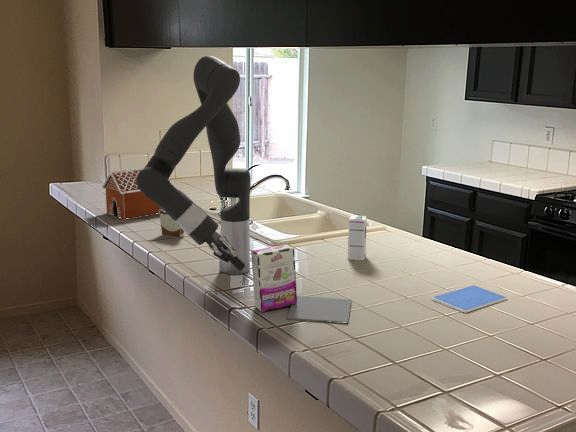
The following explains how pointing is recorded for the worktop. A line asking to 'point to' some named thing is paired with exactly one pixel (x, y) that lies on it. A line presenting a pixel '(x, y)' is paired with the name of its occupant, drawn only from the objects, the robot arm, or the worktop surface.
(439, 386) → the worktop surface
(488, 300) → the tablet computer
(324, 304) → the mat
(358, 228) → the syrup box
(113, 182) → the gingerbread house
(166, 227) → the food container
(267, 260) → the candy bar box
